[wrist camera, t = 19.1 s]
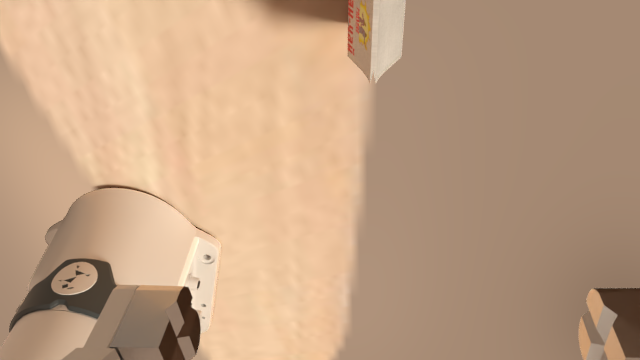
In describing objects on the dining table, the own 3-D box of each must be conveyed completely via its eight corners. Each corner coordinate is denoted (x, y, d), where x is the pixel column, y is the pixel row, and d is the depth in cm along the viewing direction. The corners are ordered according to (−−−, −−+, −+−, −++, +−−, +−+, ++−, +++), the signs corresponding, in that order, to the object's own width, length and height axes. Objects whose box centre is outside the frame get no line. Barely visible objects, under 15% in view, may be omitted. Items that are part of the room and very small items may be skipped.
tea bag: (405, -69, 39) (412, -25, 31) (398, 24, 43) (403, 84, 35) (352, -69, 39) (345, -26, 31) (351, 23, 43) (344, 83, 35)
